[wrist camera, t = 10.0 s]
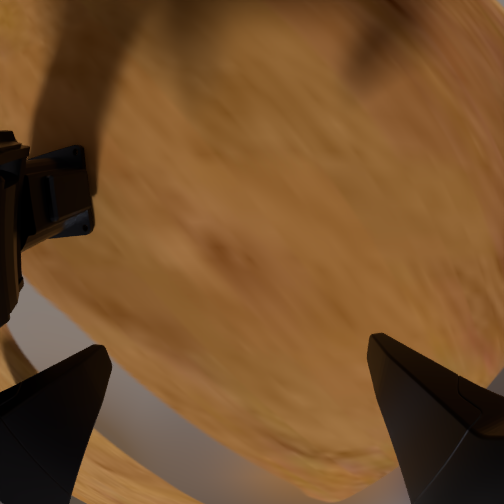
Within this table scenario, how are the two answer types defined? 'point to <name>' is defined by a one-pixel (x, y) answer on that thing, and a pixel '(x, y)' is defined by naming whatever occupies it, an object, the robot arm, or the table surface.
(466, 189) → the table surface
